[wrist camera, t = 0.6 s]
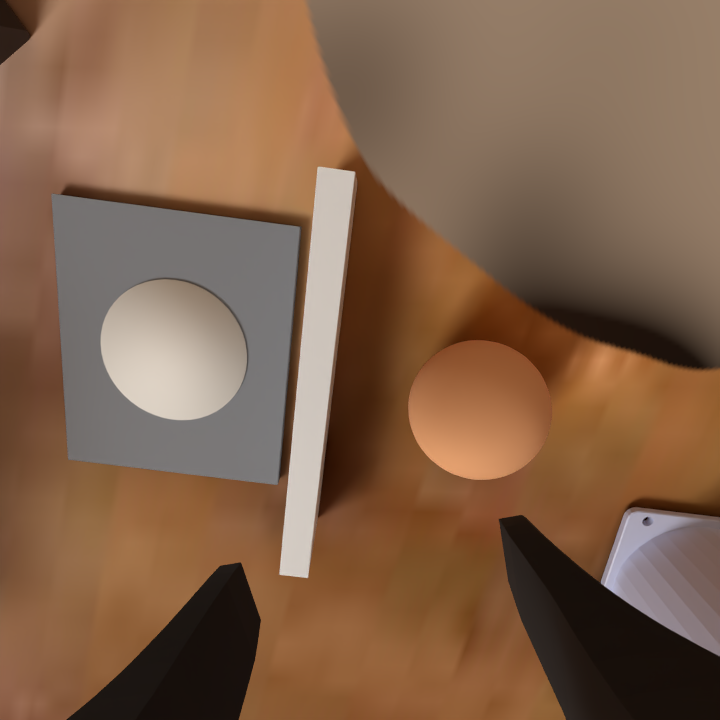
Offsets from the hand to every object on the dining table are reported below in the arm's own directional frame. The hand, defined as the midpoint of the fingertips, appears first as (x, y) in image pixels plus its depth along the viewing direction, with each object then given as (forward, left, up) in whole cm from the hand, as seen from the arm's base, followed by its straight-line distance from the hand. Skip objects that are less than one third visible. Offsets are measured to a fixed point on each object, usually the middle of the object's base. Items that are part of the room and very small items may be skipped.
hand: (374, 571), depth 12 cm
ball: (-4, -3, -7) cm, 8 cm away
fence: (+3, -3, -10) cm, 10 cm away
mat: (+9, -3, -10) cm, 13 cm away
